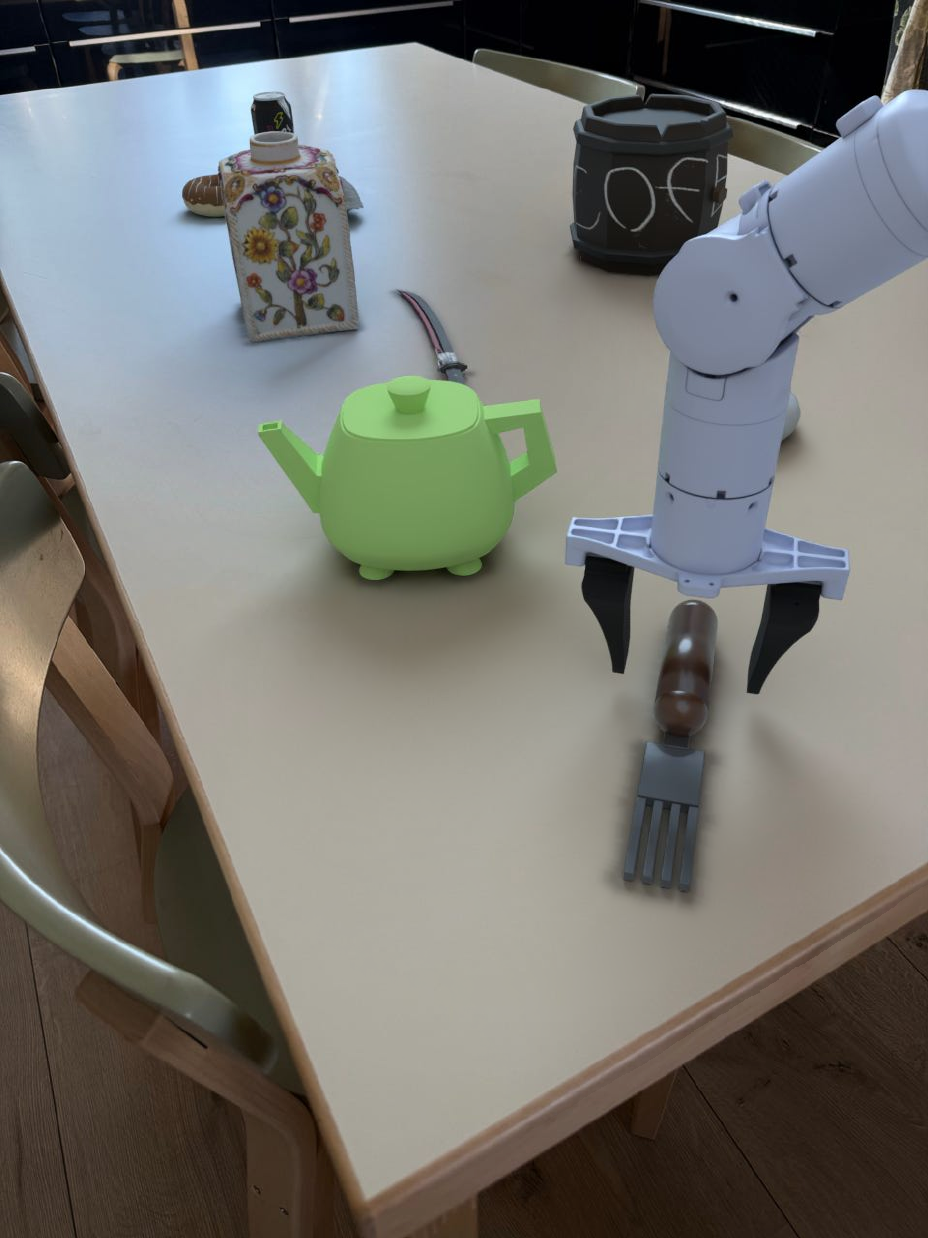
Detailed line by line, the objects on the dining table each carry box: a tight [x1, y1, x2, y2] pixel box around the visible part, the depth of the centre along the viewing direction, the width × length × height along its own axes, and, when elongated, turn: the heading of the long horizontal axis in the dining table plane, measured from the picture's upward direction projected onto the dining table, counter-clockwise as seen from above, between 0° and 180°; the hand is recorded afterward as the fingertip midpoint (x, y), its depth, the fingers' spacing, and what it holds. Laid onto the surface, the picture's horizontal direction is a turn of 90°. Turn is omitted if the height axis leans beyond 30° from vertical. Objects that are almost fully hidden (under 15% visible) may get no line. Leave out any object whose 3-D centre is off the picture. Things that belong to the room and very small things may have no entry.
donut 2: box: [181, 173, 225, 217], centre depth 136 cm, size 11×11×4 cm
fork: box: [622, 599, 719, 893], centre depth 55 cm, size 20×3×3 cm, turn 165°
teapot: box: [257, 375, 558, 581], centre depth 68 cm, size 20×13×13 cm
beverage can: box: [250, 91, 296, 135], centre depth 143 cm, size 6×6×12 cm
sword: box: [397, 289, 468, 386], centre depth 99 cm, size 31×3×1 cm, turn 13°
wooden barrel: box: [569, 93, 734, 277], centre depth 113 cm, size 18×18×16 cm
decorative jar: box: [217, 131, 360, 343], centre depth 100 cm, size 12×12×18 cm
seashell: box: [338, 175, 364, 212], centre depth 132 cm, size 12×8×5 cm
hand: (685, 672), depth 58 cm, fingers open, 7 cm apart
